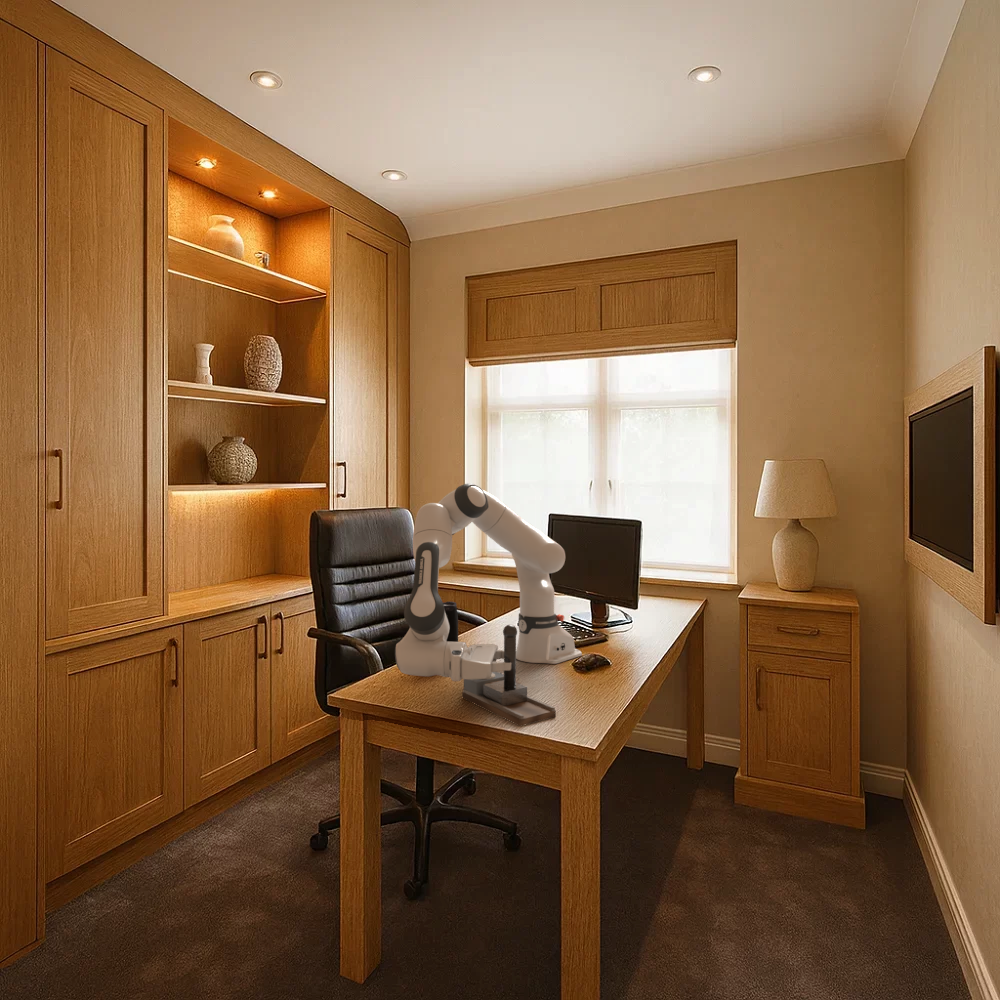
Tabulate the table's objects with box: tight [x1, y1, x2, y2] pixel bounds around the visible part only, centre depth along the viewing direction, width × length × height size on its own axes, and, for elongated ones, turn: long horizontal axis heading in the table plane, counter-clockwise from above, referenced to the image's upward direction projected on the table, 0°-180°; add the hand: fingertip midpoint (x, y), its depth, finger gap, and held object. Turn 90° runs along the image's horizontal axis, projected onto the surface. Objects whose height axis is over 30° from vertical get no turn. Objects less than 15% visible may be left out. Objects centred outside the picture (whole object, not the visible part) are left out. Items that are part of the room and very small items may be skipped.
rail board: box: [461, 688, 557, 727], centre depth 176 cm, size 11×25×2 cm, turn 36°
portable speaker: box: [443, 601, 459, 642], centre depth 212 cm, size 9×9×20 cm
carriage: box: [483, 624, 528, 706], centre depth 177 cm, size 8×8×20 cm
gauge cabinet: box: [463, 671, 504, 696], centre depth 184 cm, size 10×6×5 cm, turn 126°
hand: (512, 660), depth 175 cm, fingers open, 8 cm apart
